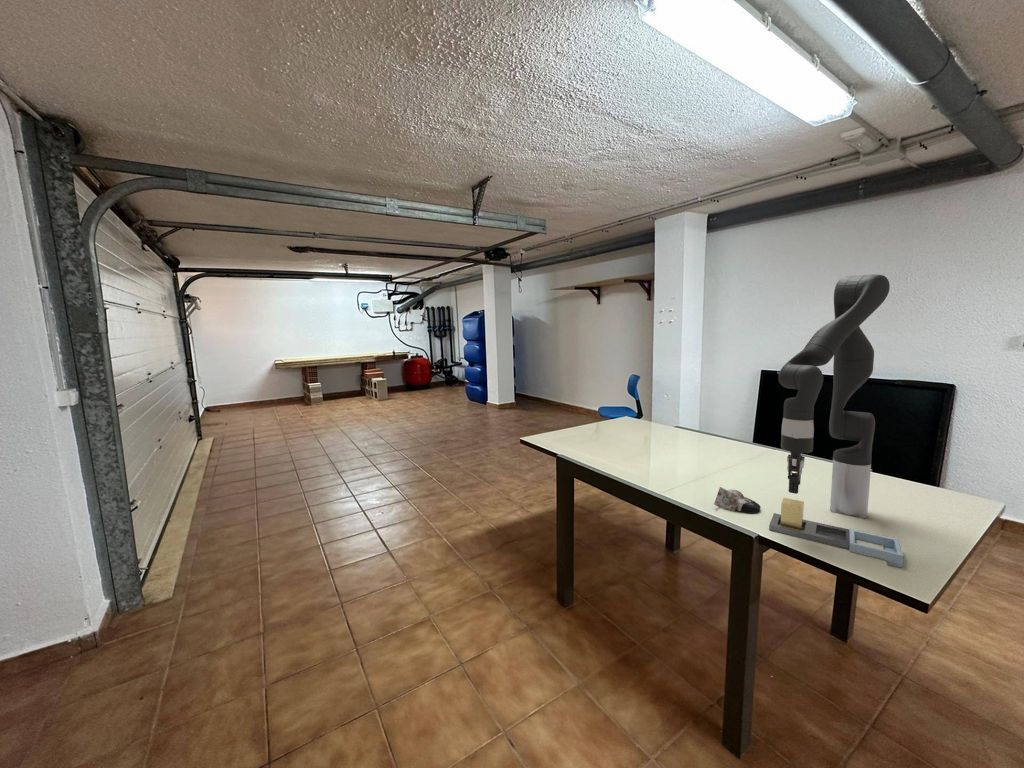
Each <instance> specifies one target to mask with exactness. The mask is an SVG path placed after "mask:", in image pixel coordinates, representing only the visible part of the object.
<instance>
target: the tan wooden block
mask: <svg viewBox="0 0 1024 768" xmlns="http://www.w3.org/2000/svg"><path fill="white" fill-rule="evenodd" d="M804 506H805V502H804V501H802V500H798V499H792V498H787V497H783V498H782V501H781V505H780V507H781V508H780V509H781V511H780V514H781V525H782V526H786V527H790V528H794V529H799V530H802V528H803V519H804Z"/></svg>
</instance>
